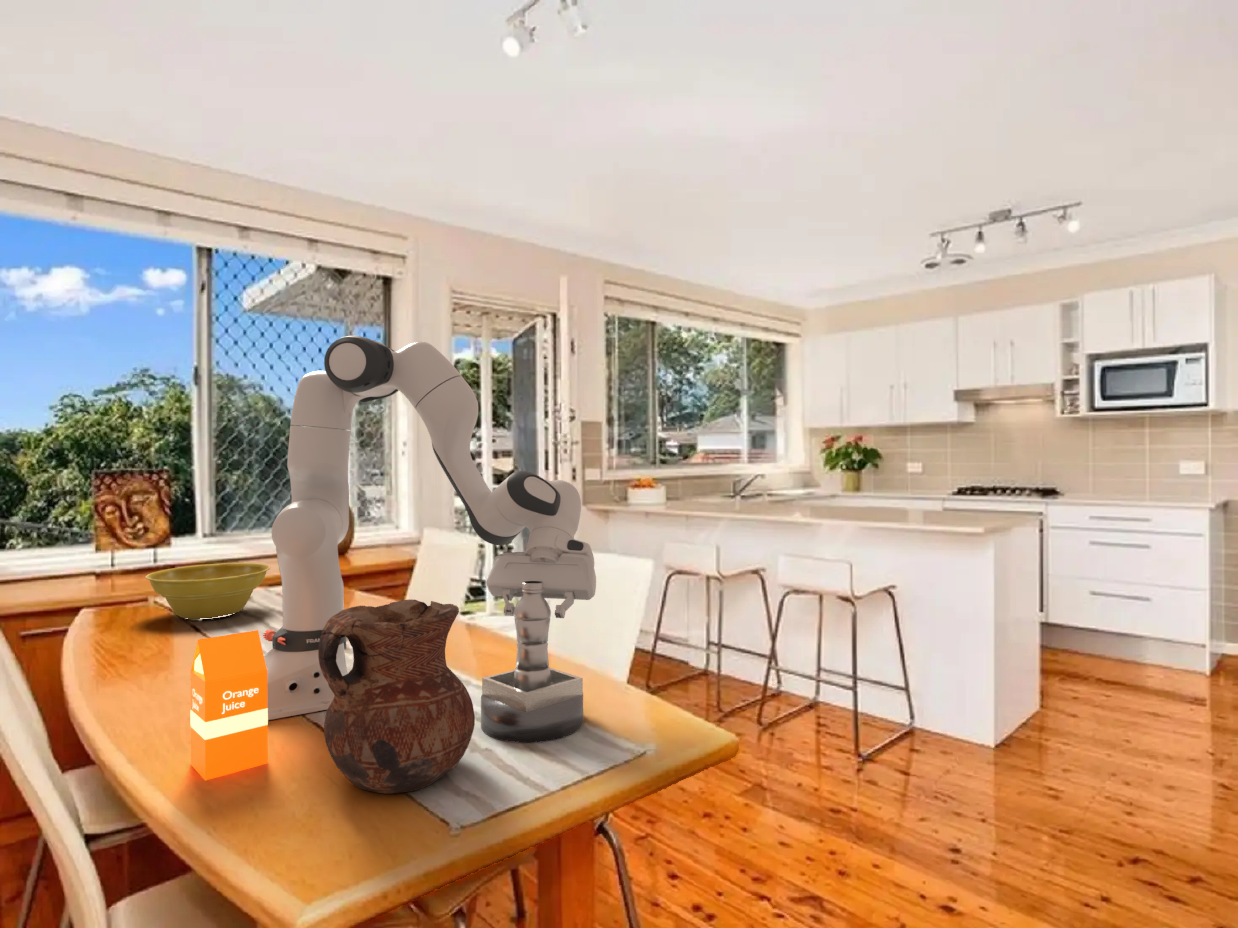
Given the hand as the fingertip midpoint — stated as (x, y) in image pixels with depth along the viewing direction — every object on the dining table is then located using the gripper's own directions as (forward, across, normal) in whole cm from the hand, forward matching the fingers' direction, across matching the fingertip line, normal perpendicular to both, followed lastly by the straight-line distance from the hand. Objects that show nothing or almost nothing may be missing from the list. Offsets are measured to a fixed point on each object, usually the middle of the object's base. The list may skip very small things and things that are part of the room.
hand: (533, 615), depth 131 cm
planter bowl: (-32, -119, +60) cm, 137 cm away
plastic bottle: (+11, 0, +9) cm, 14 cm away
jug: (+31, -13, -4) cm, 34 cm away
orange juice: (+32, -41, -5) cm, 52 cm away
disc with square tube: (+14, 0, +13) cm, 19 cm away
